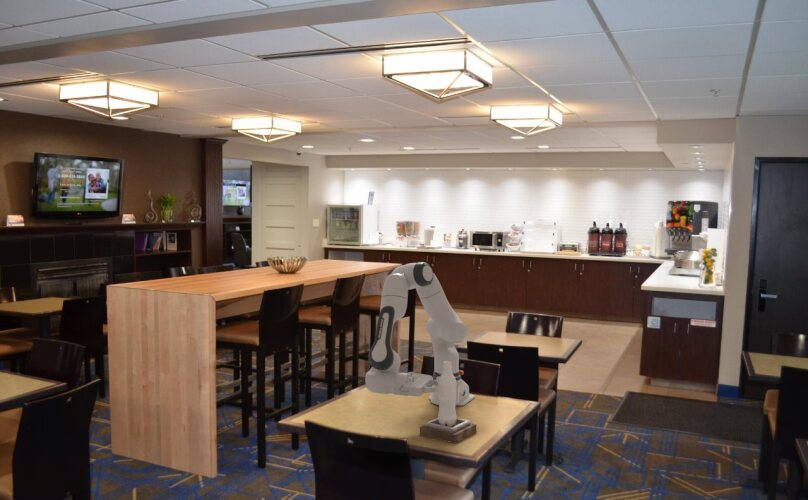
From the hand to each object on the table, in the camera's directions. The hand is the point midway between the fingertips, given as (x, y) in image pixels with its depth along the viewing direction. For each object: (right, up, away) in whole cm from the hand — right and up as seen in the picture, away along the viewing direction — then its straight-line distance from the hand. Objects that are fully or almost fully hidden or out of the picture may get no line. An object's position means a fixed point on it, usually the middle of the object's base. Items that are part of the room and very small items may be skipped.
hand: (438, 386), depth 253 cm
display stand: (+4, -18, 0) cm, 18 cm away
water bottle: (+3, -15, 0) cm, 16 cm away
